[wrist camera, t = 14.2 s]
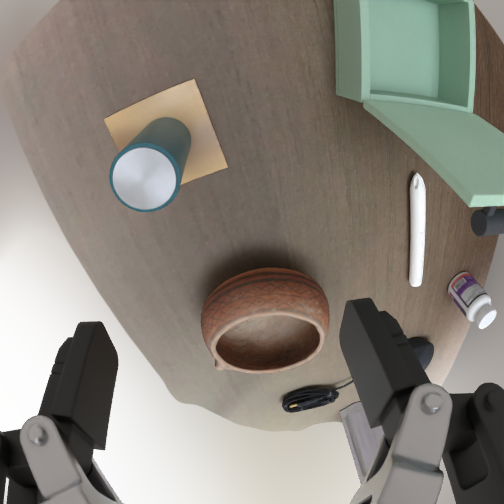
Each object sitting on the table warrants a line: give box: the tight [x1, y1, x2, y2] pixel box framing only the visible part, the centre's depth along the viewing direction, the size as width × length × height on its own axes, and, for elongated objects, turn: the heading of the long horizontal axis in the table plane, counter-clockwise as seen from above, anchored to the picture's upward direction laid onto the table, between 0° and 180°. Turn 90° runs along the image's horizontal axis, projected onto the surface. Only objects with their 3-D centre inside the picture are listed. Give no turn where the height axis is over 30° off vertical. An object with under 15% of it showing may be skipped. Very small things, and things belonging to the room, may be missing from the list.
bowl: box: [201, 268, 330, 373], centre depth 39 cm, size 16×16×10 cm
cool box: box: [333, 0, 476, 114], centre depth 23 cm, size 14×14×6 cm
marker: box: [409, 173, 426, 287], centre depth 39 cm, size 18×2×2 cm, turn 16°
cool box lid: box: [363, 100, 504, 236], centre depth 20 cm, size 15×14×5 cm
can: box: [110, 117, 191, 212], centre depth 25 cm, size 5×5×11 cm
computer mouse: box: [282, 338, 434, 413], centre depth 55 cm, size 9×32×6 cm, turn 115°
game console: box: [339, 402, 384, 485], centre depth 63 cm, size 6×27×20 cm, turn 44°
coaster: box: [104, 79, 228, 185], centre depth 30 cm, size 10×10×1 cm
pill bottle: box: [448, 272, 496, 329], centre depth 43 cm, size 5×5×10 cm
